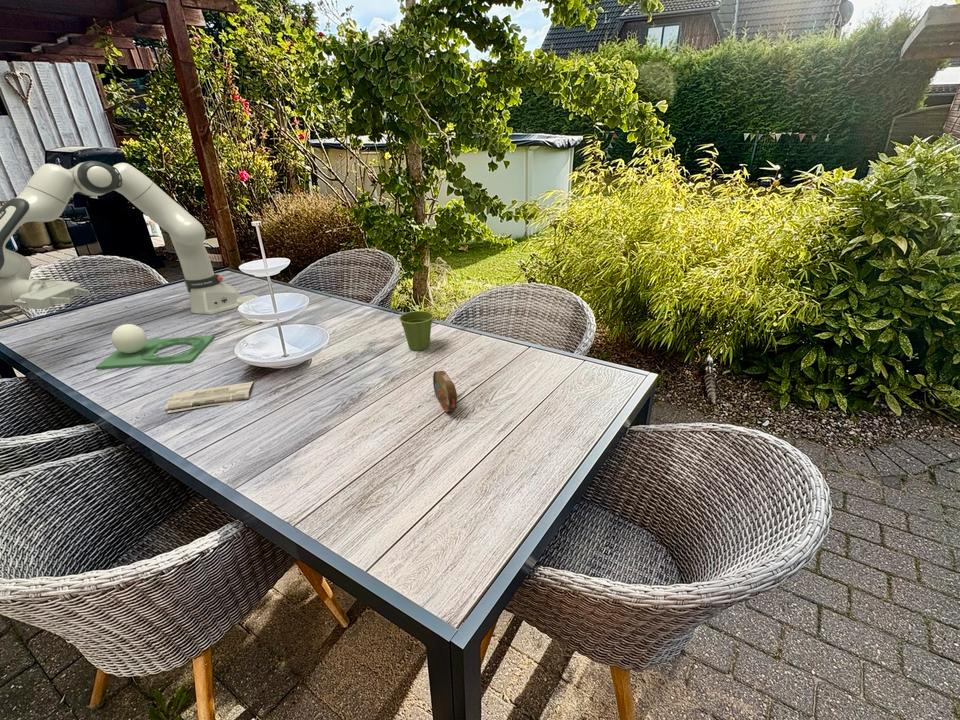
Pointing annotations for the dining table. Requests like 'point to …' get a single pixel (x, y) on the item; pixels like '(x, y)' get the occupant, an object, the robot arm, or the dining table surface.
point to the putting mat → (152, 347)
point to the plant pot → (417, 328)
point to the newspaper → (208, 397)
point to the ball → (128, 338)
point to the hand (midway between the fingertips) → (80, 296)
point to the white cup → (243, 300)
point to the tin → (445, 391)
